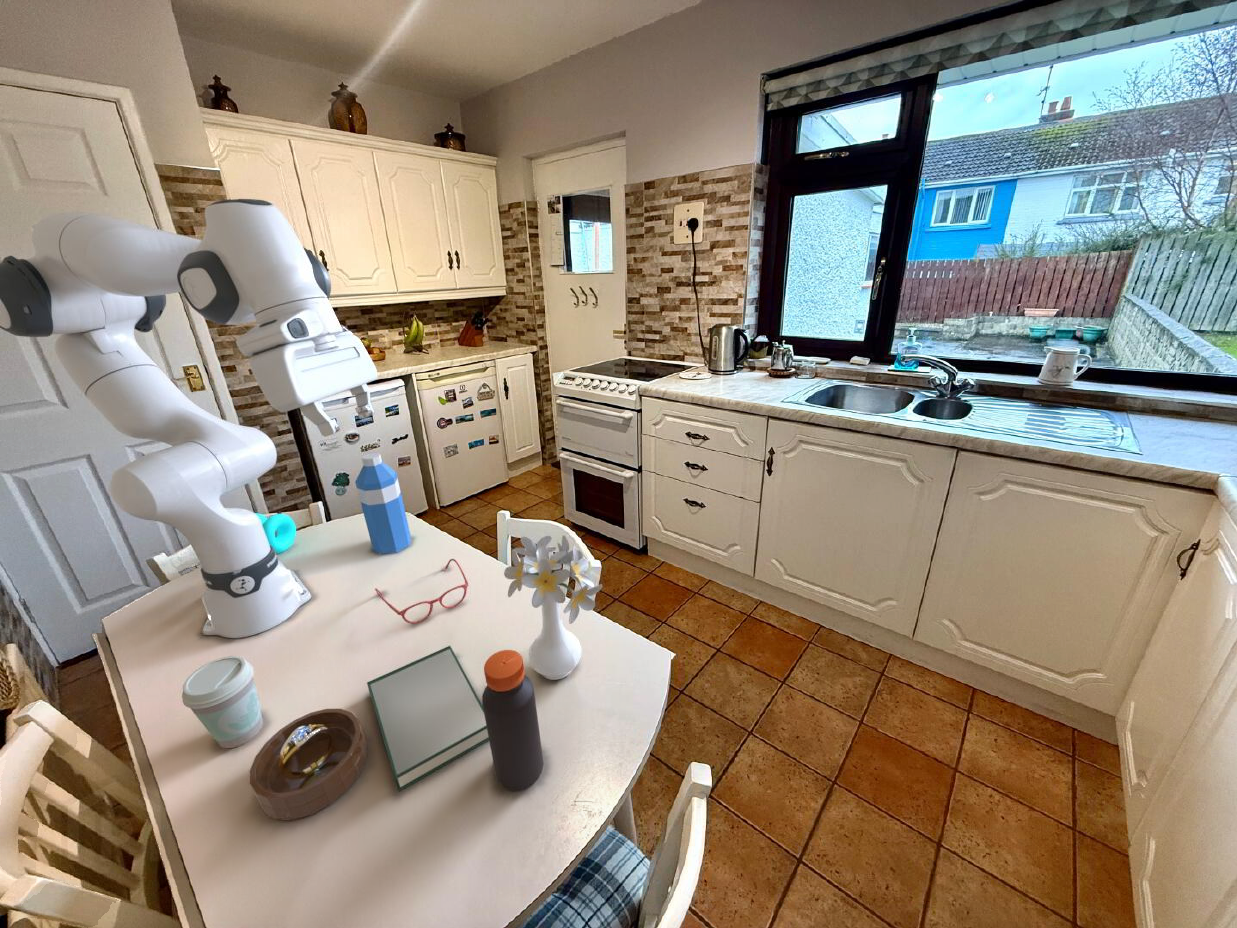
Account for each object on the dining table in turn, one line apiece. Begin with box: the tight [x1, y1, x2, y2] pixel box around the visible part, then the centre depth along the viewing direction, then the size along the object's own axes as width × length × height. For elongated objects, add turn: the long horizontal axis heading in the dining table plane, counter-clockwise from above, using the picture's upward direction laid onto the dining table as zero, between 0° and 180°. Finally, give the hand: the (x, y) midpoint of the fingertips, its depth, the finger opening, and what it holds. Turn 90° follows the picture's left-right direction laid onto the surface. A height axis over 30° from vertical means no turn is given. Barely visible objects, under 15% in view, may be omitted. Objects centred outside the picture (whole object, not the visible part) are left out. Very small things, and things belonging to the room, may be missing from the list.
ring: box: [279, 724, 336, 780], centre depth 68 cm, size 7×3×8 cm, turn 139°
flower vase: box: [503, 535, 603, 681], centre depth 82 cm, size 13×18×25 cm
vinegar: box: [481, 649, 544, 792], centre depth 66 cm, size 7×7×20 cm
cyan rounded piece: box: [253, 512, 297, 554], centre depth 124 cm, size 10×10×10 cm
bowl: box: [249, 708, 368, 821], centre depth 69 cm, size 13×13×5 cm
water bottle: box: [354, 452, 412, 555], centre depth 122 cm, size 9×9×25 cm
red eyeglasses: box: [374, 558, 469, 625], centre depth 105 cm, size 17×16×5 cm
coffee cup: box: [181, 655, 264, 749], centre depth 74 cm, size 8×8×12 cm
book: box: [366, 645, 489, 792], centre depth 78 cm, size 20×14×3 cm
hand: (351, 424), depth 69 cm, fingers open, 8 cm apart
